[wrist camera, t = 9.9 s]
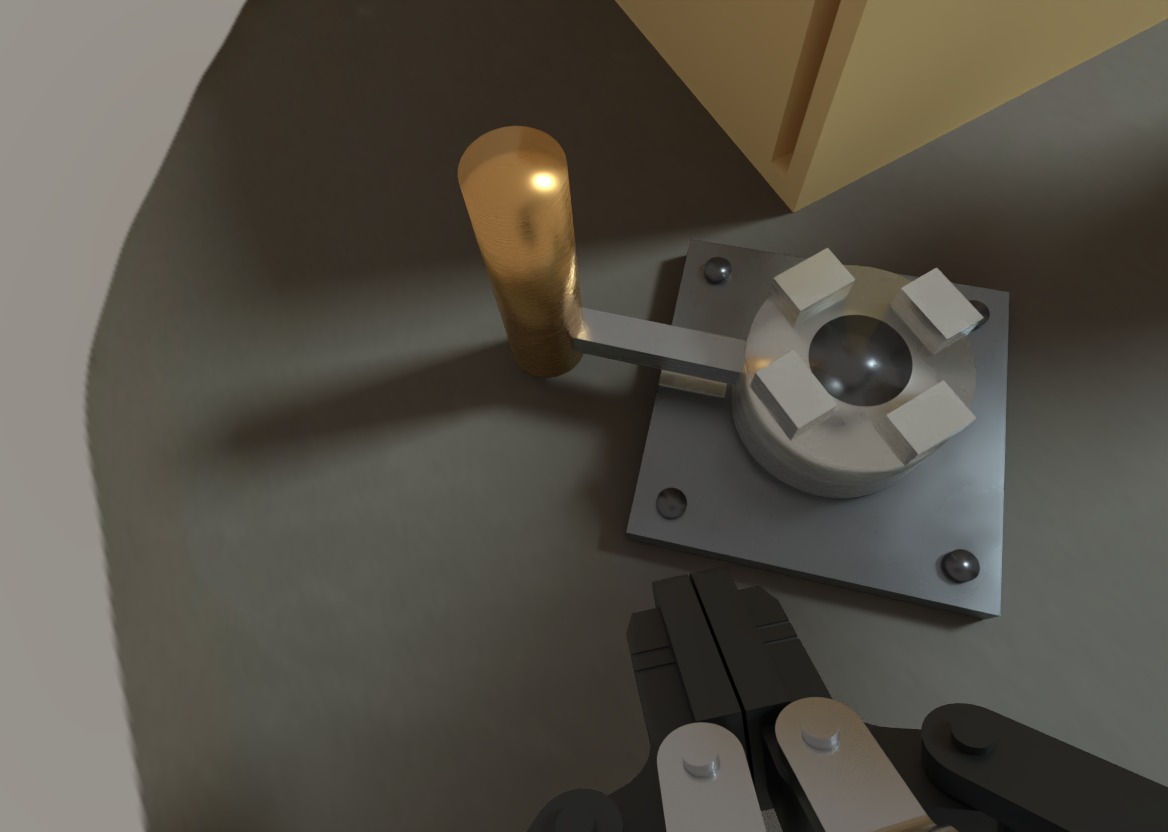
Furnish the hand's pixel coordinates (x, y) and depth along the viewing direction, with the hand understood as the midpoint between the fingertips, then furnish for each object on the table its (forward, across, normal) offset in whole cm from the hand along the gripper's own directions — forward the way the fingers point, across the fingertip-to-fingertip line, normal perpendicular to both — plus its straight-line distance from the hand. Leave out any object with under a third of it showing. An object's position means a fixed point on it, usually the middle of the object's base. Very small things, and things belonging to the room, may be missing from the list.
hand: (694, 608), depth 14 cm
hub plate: (+16, +9, -5) cm, 19 cm away
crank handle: (+16, +5, -2) cm, 17 cm away
